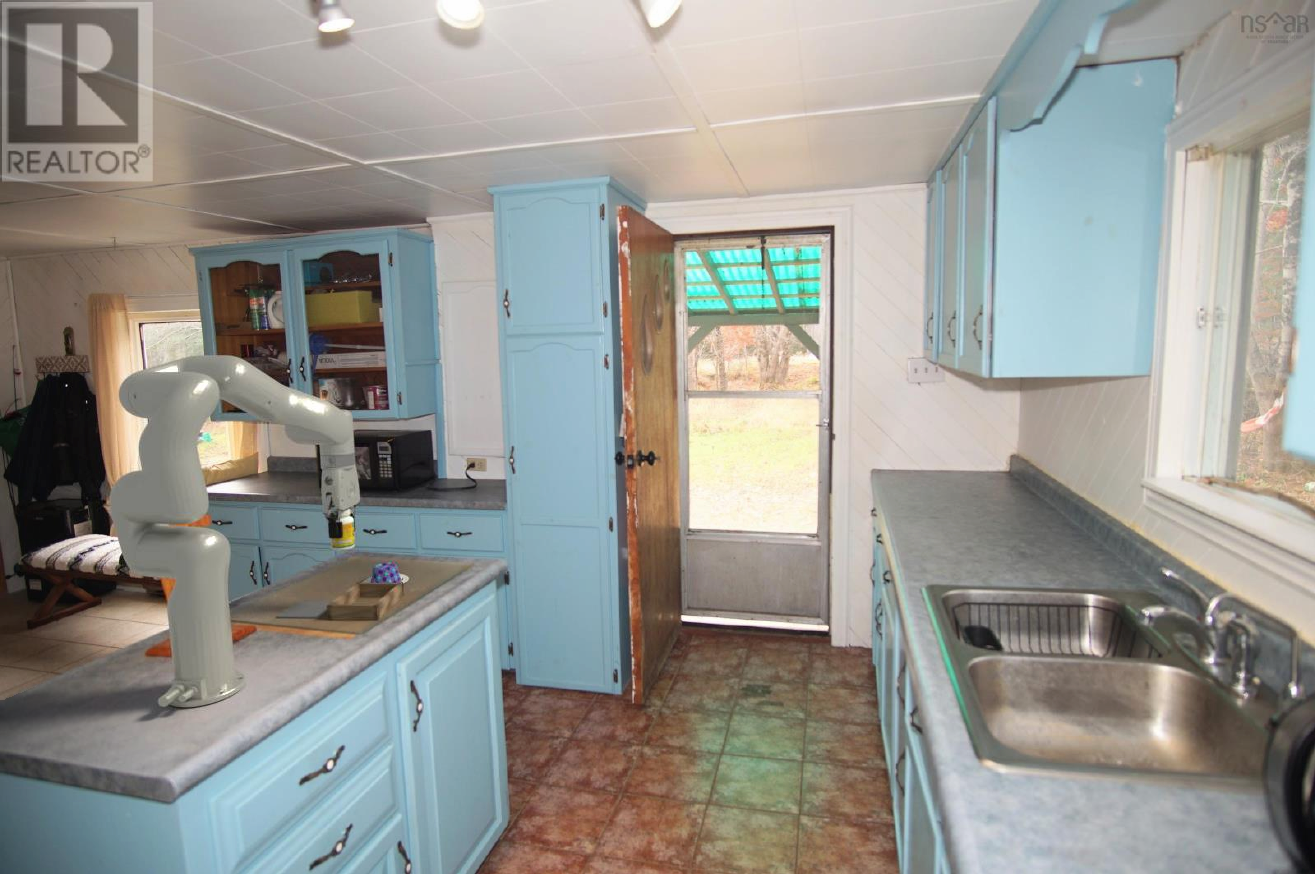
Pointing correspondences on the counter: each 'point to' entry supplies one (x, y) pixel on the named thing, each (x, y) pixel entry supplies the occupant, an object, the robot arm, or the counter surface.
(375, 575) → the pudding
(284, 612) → the rubber mat
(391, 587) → the walnut box
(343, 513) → the supplement bottle
